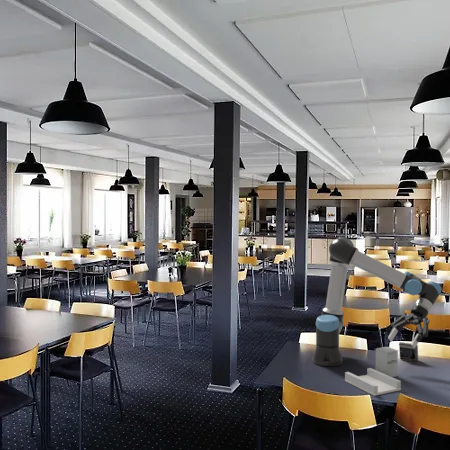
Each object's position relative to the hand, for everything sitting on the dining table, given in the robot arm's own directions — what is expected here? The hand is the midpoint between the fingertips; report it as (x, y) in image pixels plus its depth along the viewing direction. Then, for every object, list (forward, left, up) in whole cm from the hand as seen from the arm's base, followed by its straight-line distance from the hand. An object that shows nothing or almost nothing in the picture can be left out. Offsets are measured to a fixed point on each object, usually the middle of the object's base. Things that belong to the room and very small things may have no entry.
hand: (400, 343), depth 223 cm
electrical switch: (-11, +19, -15) cm, 26 cm away
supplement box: (-1, -9, -15) cm, 17 cm away
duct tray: (+5, -25, -14) cm, 30 cm away
